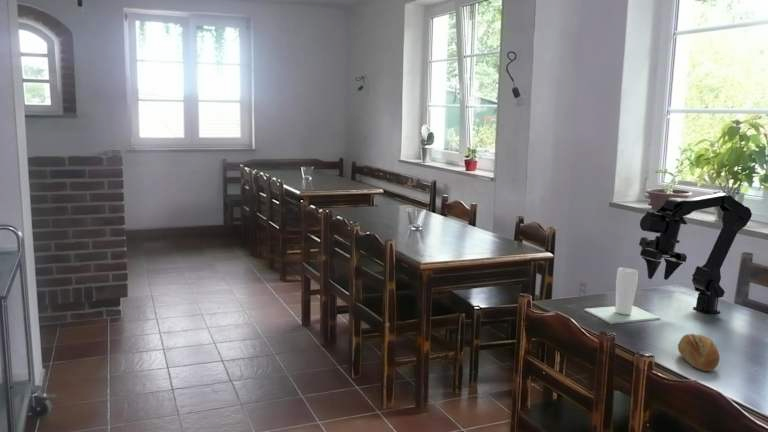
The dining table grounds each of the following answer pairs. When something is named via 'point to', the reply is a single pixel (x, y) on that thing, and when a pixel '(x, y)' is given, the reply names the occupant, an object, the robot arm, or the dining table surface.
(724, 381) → the dining table surface
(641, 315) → the pad
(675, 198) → the robot arm
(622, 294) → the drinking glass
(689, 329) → the dining table surface
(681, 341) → the bread roll
